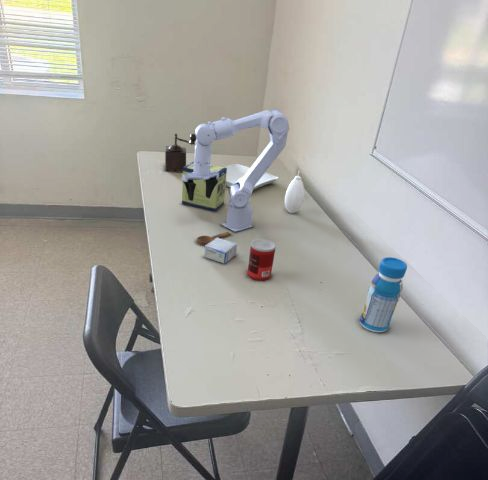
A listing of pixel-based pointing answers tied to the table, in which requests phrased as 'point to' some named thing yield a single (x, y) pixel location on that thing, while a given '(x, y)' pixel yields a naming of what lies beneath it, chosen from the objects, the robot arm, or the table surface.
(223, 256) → the medicine box
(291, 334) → the table surface
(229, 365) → the table surface
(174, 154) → the manual coffee grinder
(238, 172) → the square plate
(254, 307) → the table surface
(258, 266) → the canned food
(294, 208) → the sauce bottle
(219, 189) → the protein box
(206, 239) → the wooden spoon
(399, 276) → the beverage bottle
